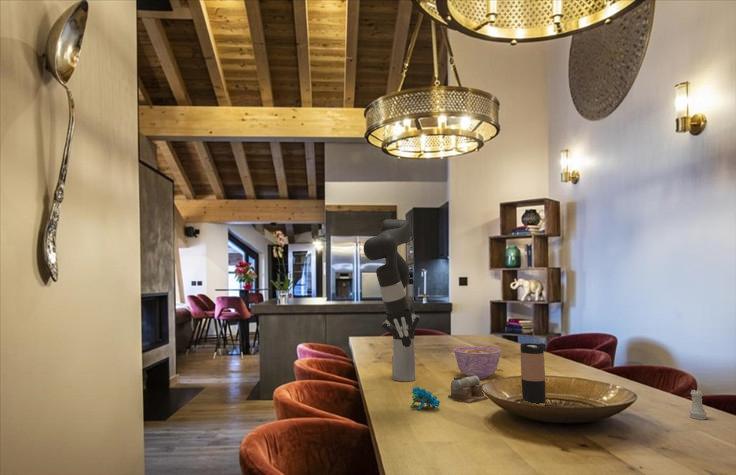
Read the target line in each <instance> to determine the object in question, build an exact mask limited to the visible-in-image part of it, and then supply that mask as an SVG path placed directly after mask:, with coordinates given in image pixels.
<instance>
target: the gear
mask: <svg viewBox="0 0 736 475" xmlns="http://www.w3.org/2000/svg"><path fill="white" fill-rule="evenodd" d="M411 393H412V395H411V398H412V403H411V405H410V408H414V406H415V404H416V403H418V404H419V406H418V408H417V410H418V411H420V412H421V411H422V409H423V406H424V405H425V404H426V405H427V406H428V407H429V406H431V407H432V408H436V407H437V408H438V407H439V406H440V403H441V401H440V399H438V397H437V396H436V395H432V394H433V393H432V392H431V391H429V390H428V391H427V390H426V389H425V388H424V387H422V388H421V387H419V386H416V387H413V388H412V391H411Z"/></svg>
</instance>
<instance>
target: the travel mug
mask: <svg viewBox="0 0 736 475" xmlns="http://www.w3.org/2000/svg"><path fill="white" fill-rule="evenodd" d="M544 349H545V348H544V344H541V343H533V342H532V343H531V342H529V343H525V342H524V343H521V344H520V371H521V372H520V373H521V374H520V378H521V379H520V380H521V393H522V400H523V399H524V400H525V401H528V402H531V403H536V404H539V403H545V404H546V370H545V367H546V366H545V352H544V351H545V350H544Z"/></svg>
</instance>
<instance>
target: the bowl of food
mask: <svg viewBox="0 0 736 475" xmlns="http://www.w3.org/2000/svg"><path fill="white" fill-rule="evenodd" d="M453 352H454V357H455V360H456V364H457V368H458V369H459V371H460V372H461V373H462V374H463V375H465V376H467V377H471V376H477V377H478V378H479V380H482V379H483V380H485V379H487V378H488V377H489V376H492V375H494V374H495V373H496V372H497V370H498V367H499V362H500V357H501V349H499V348H496V347H490V346H459V347H455V348H453Z"/></svg>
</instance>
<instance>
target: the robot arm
mask: <svg viewBox="0 0 736 475" xmlns="http://www.w3.org/2000/svg"><path fill="white" fill-rule="evenodd" d="M380 226H381V227H380V228H381V229H380V231H381V232H380V234H378V235H376V236H373V237H372V236H371V237H370V238H368V239H366V240H365V242H364V244H363V253H364V256H365V257H366V258H367V259H368V260H370V261H379V260H382V259H385V263H384V264H382V265H380V266H379V267H377V268H376V270H375V273H376V278H377V281H378V285H379V290H380V295H381V299H382V302H383V305H384V309H385V313H386V320H384V321H383V322H382V326H381V327H382V328H383V329H384V330H386V331H387V332H388V333H389V334H390V335H392V351H393V353H392V356H391V365H392V366H391V367H392V368H391V370H392V372H391V374H392V379H393V380H394V381H398V382H412V381H415V380H416V356H415V355H416V353H415V352H416V350H415V349H416V344H415V342H416V341H415V329H416V327H417V325H418V322H419V321H420V317H421V316H420V315H419V314H415V312H416V311H415V304H414V302H413V301H412V300H408V298H407V295H406V291H405V288H406V287H407V286H408V285H409V282H410V269H409V265H408V263H407V261H406V260H405V259H404V258H403V257H402V255H401V254H400V253H399V251H398V246H402V245H404V244H408V243H409V241H410V240H411V237H412V236H411V235H412V226H411V222H410V221H408V220H406V219H398V218H397V219H395V218H392V219H391V218H390V219H389V218H387V219H384V220H383V221H382V223H381V225H380ZM393 326H394V327H393Z"/></svg>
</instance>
